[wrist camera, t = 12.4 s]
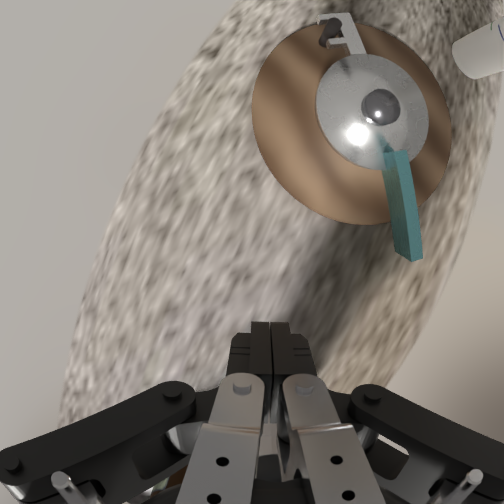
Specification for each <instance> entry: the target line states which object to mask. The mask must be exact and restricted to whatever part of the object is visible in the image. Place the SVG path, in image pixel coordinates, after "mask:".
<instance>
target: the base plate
mask: <svg viewBox="0 0 504 504" xmlns="http://www.w3.org/2000/svg"><path fill="white" fill-rule="evenodd" d="M354 24H355V26H356V29H357V31H358V33H359V36H360V38H361V41H362V43H363V46H364V48H365V51H366V54H371V55H376V56H380V57H383V58H385V59H388V60H390V61H392V62H394V63H395V64H397V65H398V66H400V67H401V68H402V69H403V70H405V71H406V72H407V73H408V74H409V75H410V76H411V77H412V79H413V80H414V81H415V83H416V84H417V86H418V87H419V89H420V90H421V93H422V95H423V97H424V99H425V102H426V106H427V110H428V117H429V127H428V134H427V137H426V140H425V143H424V145H423V147H422V149H421V150H420V152H419V153H418V154H417V156H416V157H415V158H414V159H413V160H411V161H410V162H409V163H410V168H411V173H412V179H413V184H414V190H415V196H416V202H417V208H418V207H419V206H420V205H421V204H422V203H423V202H425V201H426V200H427V199H428V198H429V196H430V195H431V194H432V193H433V191H434V190H435V189H436V187H437V186H438V184H439V182H440V181H441V179H442V177H443V174H444V172H445V169H446V167H447V163H448V160H449V156H450V149H451V121H450V116H449V111H448V107H447V104H446V101H445V98H444V95H443V93H442V91H441V88H440V86H439V84H438V82H437V81H436V79H435V77H434V76H433V74H432V72H431V71H430V70H429V68H428V67H427V66H426V65H425V63H424V62H423V61H422V60H421V59H420V58H419V57H418V56H417V55H416V54H415V53H414V52H413V51H412V50H411V49H410V48H408V47H407V46H406V45H405V44H403V43H402V42H401V41H399V40H398V39H396V38H394V37H393V36H391V35H389V34H387V33H385V32H383V31H381V30H378V29H376V28H373V27H370V26H366V25H362V24H358V23H354ZM341 27H342V22H341V21H340V20H339V19H338V18H335V17H332V18H330V19H329V20H328V22H327V24H324V25H318V24H316V25H313V26H309V27H306V28H304V29H302V30H300V31H297V32H295V33H294V34H292V35H291V36H289V37H288V38H286V39H285V40H283V41H282V42H281V43H280V44H279V45H278V46H277V47H276V48H275V49H274V50H273V51H272V52H271V54H270V55H269V56H268V57H267V59H266V61H265V62H264V64H263V66H262V67H261V69H260V72H259V74H258V77H257V79H256V82H255V87H254V91H253V98H252V122H253V128H254V133H255V138H256V141H257V144H258V147H259V150H260V153H261V155H262V157H263V159H264V161H265V163H266V165H267V166H268V168H269V169H270V171H271V172H272V174H273V175H274V177H275V178H276V179H277V181H278V182H279V183H280V184H281V185H282V186H283V188H284V189H285V190H286V191H288V192H289V193H290V194H291V195H292V196H293V197H294V198H295V199H297V200H298V201H299V202H301V203H302V204H304V205H305V206H306V207H308V208H309V209H311V210H313V211H315V212H317V213H318V214H320V215H322V216H325V217H328V218H330V219H333V220H335V221H340V222H344V223H348V224H356V225H375V224H381V223H387V222H390V221H391V219H390V213H389V207H388V201H387V196H386V190H385V185H384V180H383V176H382V171H381V170H370V169H365V168H361V167H358V166H356V165H354V164H352V163H350V162H348V161H346V160H345V159H344V158H342V157H341V156H340V155H338V154H337V153H336V152H335V151H334V150H333V149H332V148H331V146H330V145H329V144H328V143H327V141H326V140H325V138H324V136H323V135H322V133H321V131H320V129H319V126H318V123H317V120H316V115H315V107H314V104H315V94H316V90H317V87H318V84H319V82H320V80H321V78H322V77H323V75H324V74H325V73H326V71H327V70H328V69H329V68H330V67H331V66H332V65H333V64H334V63H336V62H337V61H338V60H340V59H342V58H344V57H347V56H346V53H345V51H344V48H334V49H327V46H326V42H327V40H328V39H332V38H339V36H338V32H339V30H340V28H341Z"/></svg>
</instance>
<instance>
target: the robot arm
mask: <svg viewBox="0 0 504 504" xmlns="http://www.w3.org/2000/svg"><path fill="white" fill-rule="evenodd" d="M379 434H380V435H382V436H384V437H386V438H387V439H389V440H391V441H393V442H394V443H396V444H398V445H400V446H402V447H404V448H405V449H406V450H407V451H408V453H409V455H406V454H404V453H402V452H400V451H399V450H397V449H395V448H393V447H392V446H390V445H388V444H386V443H385V442H383V441H381V440H379V439H378V436H379ZM186 465H188V467H187V470H186V473H185V476H184V479H183V482H182V484H178V485H175V486H172V487H169V488H167V489H165V490H163V491H161V492H159V493H158V494H156V495H154V496H153V497H151V498H150V499H148V500H147V501H145V502H143V503H142V504H504V444H503V443H501V442H499V441H496V440H494V439H491V438H489V437H487V436H484V435H482V434H480V433H477V432H475V431H473V430H471V429H468V428H466V427H464V426H462V425H460V424H457V423H455V422H453V421H451V420H448V419H446V418H444V417H442V416H440V415H438V414H436V413H434V412H432V411H430V410H427V409H425V408H423V407H421V406H419V405H417V404H415V403H413V402H411V401H409V400H407V399H405V398H403V397H401V396H399V395H397V394H395V393H393V392H391V391H389V390H387V389H386V388H384V387H381V386H378V385H374V384H364V385H360V386H358V387H356V388H355V389H354V390H353V391H352V393H351V395H350V394H344V393H338V392H334V391H331V390H329V389H327V387H326V385H325V383H324V382H323V380H321V379H320V378H318V377H317V374H316V370H315V366H314V362H313V359H312V356H311V351H310V347H309V344H308V341H307V340H306V339H305V338H304V337H303V336H302V335H301V334H290V328H289V323H288V322H270V327H269V322H251V333H237V334H236V335H235V336H234V337H233V338H232V341H231V348H230V354H229V360H228V366H227V372H226V377H225V378H224V379H222V381H221V383H220V386H219V387H217V388H215V389H212V390H209V391H203V392H196V393H195V391H194V389H193V388H192V387H191V386H190V385H188V384H186V383H184V382H179V381H167V382H163V383H161V384H158V385H156V386H154V387H152V388H150V389H148V390H146V391H144V392H142V393H140V394H138V395H136V396H133V397H131V398H129V399H127V400H125V401H123V402H121V403H118V404H116V405H114V406H112V407H110V408H107V409H105V410H103V411H101V412H98V413H96V414H94V415H91V416H89V417H87V418H84V419H82V420H80V421H77V422H75V423H72V424H70V425H67V426H65V427H62V428H60V429H57V430H55V431H52V432H50V433H47V434H45V435H42V436H39V437H36V438H34V439H31V440H28V441H25V442H23V443H20V444H17V445H14V446H11V447H8V448H5V449H3V450H2V451H0V482H1V483H2V484H3V485H4V486H5V487H6V488H7V489H8V490H9V492H10V493H11V495H12V496H13V497H14V498H15V499H16V500H17V501H18V502H19V503H20V504H122V503H124V502H126V501H128V500H130V499H132V498H133V497H135V496H137V495H139V494H141V493H142V492H144V491H146V490H148V489H149V488H151V487H153V486H155V485H156V484H158V483H160V482H161V481H163V480H164V479H166V478H168V477H169V476H171V475H173V474H174V473H176V472H177V471H179V470H180V469H182V468H183V467H185V466H186Z"/></svg>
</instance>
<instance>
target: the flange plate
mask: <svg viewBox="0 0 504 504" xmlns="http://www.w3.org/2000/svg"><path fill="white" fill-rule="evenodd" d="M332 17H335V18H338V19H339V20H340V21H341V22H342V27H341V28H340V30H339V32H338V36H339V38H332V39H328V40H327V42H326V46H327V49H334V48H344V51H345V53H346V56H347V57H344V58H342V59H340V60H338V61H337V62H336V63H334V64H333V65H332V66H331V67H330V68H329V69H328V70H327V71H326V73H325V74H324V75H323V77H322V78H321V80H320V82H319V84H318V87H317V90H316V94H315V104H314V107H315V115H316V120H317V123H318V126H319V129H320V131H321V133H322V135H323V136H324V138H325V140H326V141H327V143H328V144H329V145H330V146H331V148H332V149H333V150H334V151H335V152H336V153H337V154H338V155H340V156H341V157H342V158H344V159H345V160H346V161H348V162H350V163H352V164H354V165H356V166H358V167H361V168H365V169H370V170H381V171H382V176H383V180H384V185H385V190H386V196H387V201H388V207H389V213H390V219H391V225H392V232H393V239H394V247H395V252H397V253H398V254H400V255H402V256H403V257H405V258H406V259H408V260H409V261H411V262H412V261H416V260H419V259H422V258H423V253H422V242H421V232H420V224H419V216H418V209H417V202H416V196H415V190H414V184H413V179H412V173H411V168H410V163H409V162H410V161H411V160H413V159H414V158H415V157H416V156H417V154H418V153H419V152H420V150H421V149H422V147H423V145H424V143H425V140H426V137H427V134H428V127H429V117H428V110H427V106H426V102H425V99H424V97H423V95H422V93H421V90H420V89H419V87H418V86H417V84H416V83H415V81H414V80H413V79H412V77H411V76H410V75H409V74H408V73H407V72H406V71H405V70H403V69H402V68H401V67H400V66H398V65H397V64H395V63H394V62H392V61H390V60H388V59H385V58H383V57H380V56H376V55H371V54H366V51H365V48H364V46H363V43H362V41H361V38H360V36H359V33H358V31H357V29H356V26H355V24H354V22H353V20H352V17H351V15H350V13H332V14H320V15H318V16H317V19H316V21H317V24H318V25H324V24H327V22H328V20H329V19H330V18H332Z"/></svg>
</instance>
